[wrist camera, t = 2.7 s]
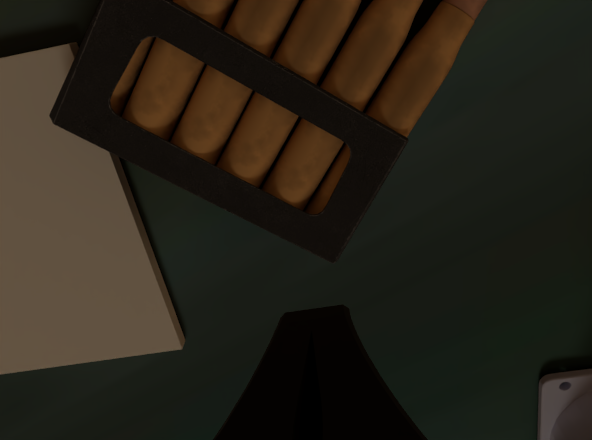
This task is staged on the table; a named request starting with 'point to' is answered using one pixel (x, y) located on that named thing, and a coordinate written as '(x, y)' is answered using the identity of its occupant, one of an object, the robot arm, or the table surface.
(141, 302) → the mat
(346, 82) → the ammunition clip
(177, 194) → the table surface
